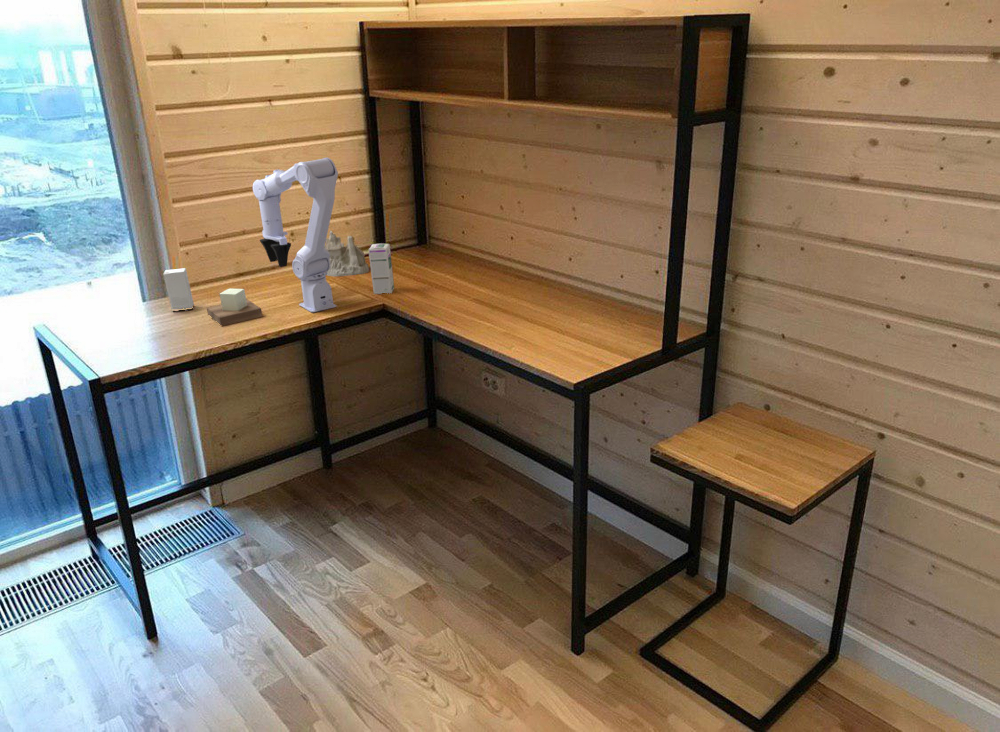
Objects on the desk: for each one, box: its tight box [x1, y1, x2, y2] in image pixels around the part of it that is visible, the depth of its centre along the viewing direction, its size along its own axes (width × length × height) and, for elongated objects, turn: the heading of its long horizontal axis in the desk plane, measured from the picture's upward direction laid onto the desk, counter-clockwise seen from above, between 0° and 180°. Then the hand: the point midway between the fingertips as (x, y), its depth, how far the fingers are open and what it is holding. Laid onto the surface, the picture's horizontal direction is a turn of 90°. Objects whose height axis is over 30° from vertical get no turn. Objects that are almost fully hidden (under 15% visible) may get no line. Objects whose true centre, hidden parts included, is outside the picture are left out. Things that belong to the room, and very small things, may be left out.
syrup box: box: [368, 242, 395, 295], centre depth 245 cm, size 6×6×14 cm
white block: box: [219, 288, 247, 311], centre depth 229 cm, size 5×5×5 cm
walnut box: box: [206, 298, 263, 326], centre depth 231 cm, size 12×12×3 cm
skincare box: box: [162, 267, 195, 310], centre depth 236 cm, size 6×4×12 cm
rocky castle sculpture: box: [325, 230, 370, 277], centre depth 270 cm, size 16×16×15 cm
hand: (278, 263), depth 243 cm, fingers open, 7 cm apart
